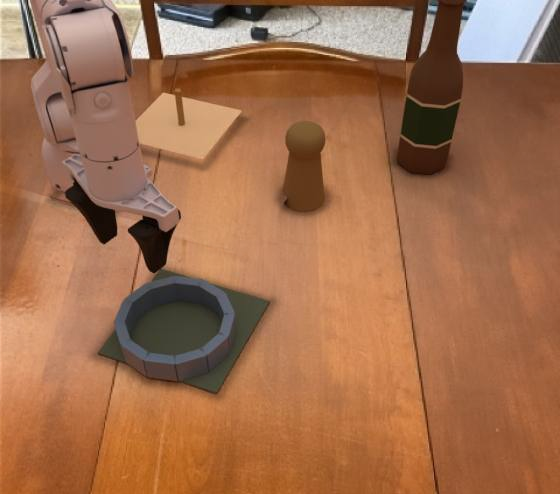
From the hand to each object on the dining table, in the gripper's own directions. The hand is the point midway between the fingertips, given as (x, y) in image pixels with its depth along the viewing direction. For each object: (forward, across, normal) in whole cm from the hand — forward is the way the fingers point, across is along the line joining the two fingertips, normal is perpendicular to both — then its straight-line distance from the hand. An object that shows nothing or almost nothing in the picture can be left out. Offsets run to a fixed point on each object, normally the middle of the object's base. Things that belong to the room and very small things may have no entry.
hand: (132, 253), depth 75 cm
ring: (+8, -6, +1) cm, 11 cm away
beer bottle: (+9, -11, -47) cm, 49 cm away
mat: (+9, -6, -1) cm, 11 cm away
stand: (+9, +22, -30) cm, 38 cm away
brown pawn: (+9, -3, -29) cm, 30 cm away
